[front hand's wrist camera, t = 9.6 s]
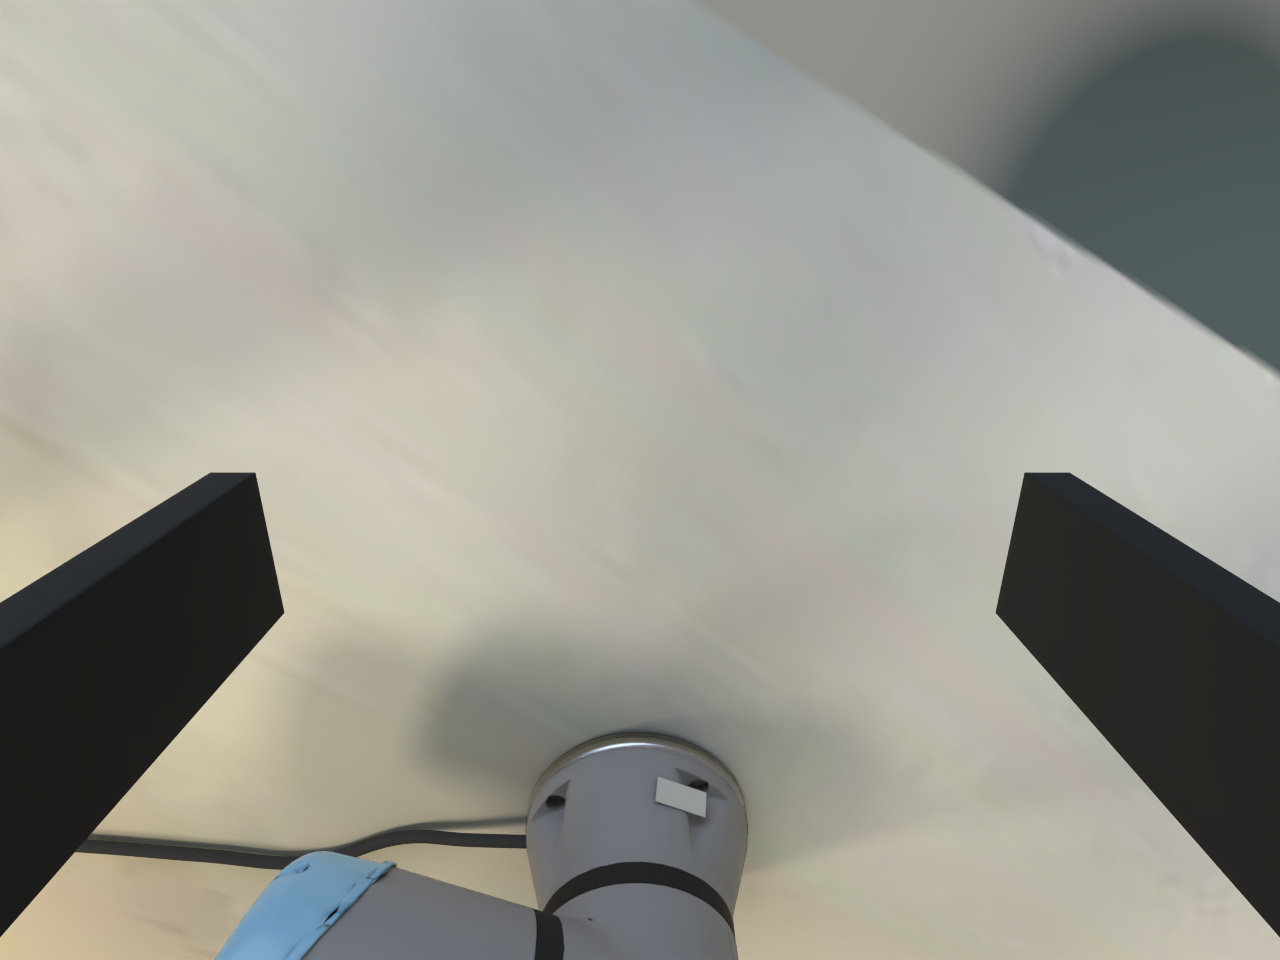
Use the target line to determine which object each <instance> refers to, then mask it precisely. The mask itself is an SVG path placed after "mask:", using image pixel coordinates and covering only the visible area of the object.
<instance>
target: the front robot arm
mask: <svg viewBox="0 0 1280 960" xmlns="http://www.w3.org/2000/svg"><path fill="white" fill-rule="evenodd" d="M283 614H284V609H283V604H282V599H281V594H280V589H279V585H278V580H277V575H276V570H275V565H274V560H273V556H272V551H271V546H270V541H269V536H268V531H267V527H266V522H265V517H264V512H263V507H262V503H261V498H260V493H259V488H258V483H257V478H256V474H255V473H209V474H208V475H206V476H204V477H203V478H201V479H200V480H198V481H196V482H195V483H193V484H191V485H190V486H188V487H187V488H185V489H183V490H182V491H180V492H179V493H177V494H175V495H174V496H172V497H170V498H169V499H167V500H166V501H164V502H162V503H161V504H159V505H158V506H156V507H154V508H153V509H151V510H149V511H148V512H146V513H145V514H143V515H141V516H140V517H138V518H137V519H135V520H133V521H132V522H130V523H128V524H127V525H125V526H124V527H122V528H120V529H119V530H117V531H116V532H114V533H112V534H111V535H109V536H108V537H106V538H104V539H103V540H101V541H99V542H98V543H96V544H95V545H93V546H91V547H90V548H88V549H87V550H85V551H83V552H82V553H80V554H78V555H77V556H75V557H74V558H72V559H70V560H69V561H67V562H66V563H64V564H62V565H61V566H59V567H57V568H56V569H54V570H53V571H51V572H49V573H48V574H46V575H45V576H43V577H41V578H40V579H38V580H36V581H35V582H33V583H32V584H30V585H28V586H27V587H25V588H24V589H22V590H20V591H19V592H17V593H15V594H14V595H12V596H11V597H9V598H7V599H6V600H4V601H3V602H1V603H0V937H1V936H2V935H3V933H4V932H5V931H6V930H7V929H8V928H9V927H10V925H11V924H12V923H13V922H14V921H15V920H16V919H17V917H18V916H19V915H20V914H21V913H22V912H23V911H24V909H25V908H26V907H27V906H28V905H29V904H30V903H31V901H32V900H33V899H34V898H35V897H36V896H37V895H38V893H39V892H40V891H41V890H42V889H43V888H44V887H45V885H46V884H47V883H48V882H49V881H50V880H51V879H52V877H53V876H54V875H55V874H56V873H57V872H58V871H59V869H60V868H61V867H62V866H63V865H64V864H65V863H66V861H67V860H68V859H69V858H70V857H71V856H72V855H73V853H74V852H82V853H97V854H110V855H123V856H135V857H147V858H158V859H170V860H182V861H195V862H208V863H219V864H228V865H236V866H245V867H253V868H263V869H279V870H282V871H281V872H280V873H279V874H278V875H277V876H276V877H275V878H274V879H273V880H272V882H271V883H270V884H269V885H268V886H267V887H266V889H265V890H264V891H263V892H262V893H261V895H260V896H259V897H258V899H257V900H256V901H255V902H254V904H253V905H252V907H251V908H250V909H249V911H248V912H247V913H246V915H245V916H244V917H243V919H242V920H241V922H240V923H239V925H238V926H237V927H236V929H235V930H234V932H233V933H232V935H231V936H230V938H229V939H228V940H227V942H226V943H225V945H224V946H223V948H222V949H221V951H220V952H219V954H218V955H217V957H216V958H215V960H738V954H737V946H736V941H735V933H734V924H733V914H734V909H735V904H736V899H737V895H738V890H739V885H740V880H741V875H742V871H743V866H744V861H745V856H746V852H747V839H748V824H747V818H746V812H745V807H744V801H743V797H742V794H741V791H740V789H739V787H738V785H737V783H736V781H735V780H734V778H733V776H732V775H731V774H730V773H729V771H728V770H727V769H726V768H725V767H724V766H723V765H722V764H721V763H720V762H719V761H718V760H717V759H716V758H714V757H713V756H712V755H710V754H709V753H707V752H706V751H704V750H702V749H701V748H699V747H697V746H695V745H693V744H691V743H688V742H686V741H683V740H680V739H677V738H674V737H670V736H666V735H660V734H654V733H620V734H614V735H608V736H604V737H600V738H597V739H593V740H590V741H588V742H585V743H583V744H581V745H579V746H577V747H575V748H573V749H571V750H569V751H568V752H566V753H565V754H563V755H562V756H561V757H559V758H558V759H557V760H556V761H554V762H553V763H552V764H551V765H550V766H549V767H548V769H547V770H546V771H545V772H544V773H543V775H542V776H541V778H540V779H539V781H538V782H537V784H536V787H535V789H534V791H533V794H532V797H531V801H530V806H529V811H528V816H527V822H526V835H507V834H472V833H455V832H445V831H434V830H409V831H401V832H394V833H389V834H385V835H381V836H378V837H375V838H371V839H369V840H366V841H363V842H360V843H358V844H355V845H352V846H349V847H347V848H344V849H340V850H337V851H334V852H329V851H317V852H312V853H309V854H306V855H304V856H293V857H288V856H267V855H258V854H249V853H241V852H233V851H224V850H213V849H201V848H188V847H175V846H164V845H152V844H141V843H129V842H116V841H103V840H89V839H87V838H88V836H89V835H90V834H91V833H92V832H93V831H94V830H95V828H96V827H97V826H98V825H99V824H100V823H101V822H102V820H103V819H104V818H105V817H106V816H107V815H108V814H109V812H110V811H111V810H112V809H113V808H114V807H115V806H116V804H117V803H118V802H119V801H120V800H121V799H122V798H123V796H124V795H125V794H126V793H127V792H128V791H129V790H130V788H131V787H132V786H133V785H134V784H135V783H136V782H137V780H138V779H139V778H140V777H141V776H142V775H143V774H144V772H145V771H146V770H147V769H148V768H149V767H150V766H151V764H152V763H153V762H154V761H155V760H156V759H157V758H158V756H159V755H160V754H161V753H162V752H163V751H164V750H165V748H166V747H167V746H168V745H169V744H170V743H171V742H172V740H173V739H174V738H175V737H176V736H177V735H178V734H179V732H180V731H181V730H182V729H183V728H184V727H185V726H186V724H187V723H188V722H189V721H190V720H191V719H192V718H193V716H194V715H195V714H196V713H197V712H198V711H199V710H200V708H201V707H202V706H203V705H204V704H205V703H206V702H207V700H208V699H209V698H210V697H211V696H212V695H213V694H214V692H215V691H216V690H217V689H218V688H219V687H220V686H221V684H222V683H223V682H224V681H225V680H226V679H227V678H228V676H229V675H230V674H231V673H232V672H233V671H234V670H235V669H236V667H237V666H238V665H239V664H240V663H241V662H242V661H243V659H244V658H245V657H246V656H247V655H248V654H249V653H250V651H251V650H252V649H253V648H254V647H255V646H256V645H257V643H258V642H259V641H260V640H261V639H262V638H263V637H264V635H265V634H266V633H267V632H268V631H269V630H270V629H271V627H272V626H273V625H274V624H275V623H276V622H277V621H278V619H279V618H280V617H281V616H282V615H283ZM996 614H997V615H998V616H999V617H1000V618H1001V619H1002V621H1003V622H1004V623H1005V624H1006V625H1007V626H1008V627H1009V629H1010V630H1011V631H1012V632H1013V633H1014V634H1015V635H1016V637H1017V638H1018V639H1019V640H1020V641H1021V642H1022V643H1023V645H1024V646H1025V647H1026V648H1027V649H1028V650H1029V651H1030V653H1031V654H1032V655H1033V656H1034V657H1035V658H1036V659H1037V661H1038V662H1039V663H1040V664H1041V665H1042V666H1043V667H1044V669H1045V670H1046V671H1047V672H1048V673H1049V674H1050V675H1051V677H1052V678H1053V679H1054V680H1055V681H1056V682H1057V683H1058V684H1059V686H1060V687H1061V688H1062V689H1063V690H1064V691H1065V692H1066V694H1067V695H1068V696H1069V697H1070V698H1071V699H1072V700H1073V702H1074V703H1075V704H1076V705H1077V706H1078V707H1079V708H1080V710H1081V711H1082V712H1083V713H1084V714H1085V715H1086V716H1087V718H1088V719H1089V720H1090V721H1091V722H1092V723H1093V724H1094V726H1095V727H1096V728H1097V729H1098V730H1099V731H1100V732H1101V734H1102V735H1103V736H1104V737H1105V738H1106V739H1107V740H1108V742H1109V743H1110V744H1111V745H1112V746H1113V747H1114V748H1115V750H1116V751H1117V752H1118V753H1119V754H1120V755H1121V756H1122V758H1123V759H1124V760H1125V761H1126V762H1127V763H1128V764H1129V766H1130V767H1131V768H1132V769H1133V770H1134V771H1135V772H1136V774H1137V775H1138V776H1139V777H1140V778H1141V779H1142V780H1143V782H1144V783H1145V784H1146V785H1147V786H1148V787H1149V788H1150V790H1151V791H1152V792H1153V793H1154V794H1155V795H1156V796H1157V798H1158V799H1159V800H1160V801H1161V802H1162V803H1163V804H1164V806H1165V807H1166V808H1167V809H1168V810H1169V811H1170V812H1171V814H1172V815H1173V816H1174V817H1175V818H1176V819H1177V820H1178V822H1179V823H1180V824H1181V825H1182V826H1183V827H1184V828H1185V830H1186V831H1187V832H1188V833H1189V834H1190V835H1191V836H1192V838H1193V839H1194V840H1195V841H1196V842H1197V843H1198V844H1199V845H1200V847H1201V848H1202V849H1203V850H1204V851H1205V852H1206V853H1207V855H1208V856H1209V857H1210V858H1211V859H1212V860H1213V861H1214V863H1215V864H1216V865H1217V866H1218V867H1219V868H1220V869H1221V871H1222V872H1223V873H1224V874H1225V875H1226V876H1227V877H1228V879H1229V880H1230V881H1231V882H1232V883H1233V884H1234V885H1235V887H1236V888H1237V889H1238V890H1239V891H1240V892H1241V893H1242V895H1243V896H1244V897H1245V898H1246V899H1247V900H1248V901H1249V903H1250V904H1251V905H1252V906H1253V907H1254V908H1255V909H1256V911H1257V912H1258V913H1259V914H1260V915H1261V916H1262V917H1263V919H1264V920H1265V921H1266V922H1267V923H1268V924H1269V925H1270V927H1271V928H1272V929H1273V930H1274V931H1275V932H1276V933H1277V935H1278V936H1279V937H1280V603H1279V602H1277V601H1276V600H1274V599H1273V598H1271V597H1269V596H1268V595H1266V594H1265V593H1263V592H1261V591H1260V590H1258V589H1256V588H1255V587H1253V586H1252V585H1250V584H1248V583H1247V582H1245V581H1244V580H1242V579H1240V578H1239V577H1237V576H1235V575H1234V574H1232V573H1231V572H1229V571H1227V570H1226V569H1224V568H1223V567H1221V566H1219V565H1218V564H1216V563H1214V562H1213V561H1211V560H1210V559H1208V558H1206V557H1205V556H1203V555H1202V554H1200V553H1198V552H1197V551H1195V550H1193V549H1192V548H1190V547H1189V546H1187V545H1185V544H1184V543H1182V542H1181V541H1179V540H1177V539H1176V538H1174V537H1172V536H1171V535H1169V534H1168V533H1166V532H1164V531H1163V530H1161V529H1160V528H1158V527H1156V526H1155V525H1153V524H1152V523H1150V522H1148V521H1147V520H1145V519H1143V518H1142V517H1140V516H1139V515H1137V514H1135V513H1134V512H1132V511H1131V510H1129V509H1127V508H1126V507H1124V506H1122V505H1121V504H1119V503H1118V502H1116V501H1114V500H1113V499H1111V498H1110V497H1108V496H1106V495H1105V494H1103V493H1101V492H1100V491H1098V490H1097V489H1095V488H1093V487H1092V486H1090V485H1089V484H1087V483H1085V482H1084V481H1082V480H1080V479H1079V478H1077V477H1076V476H1074V475H1072V474H1071V473H1025V474H1024V478H1023V483H1022V488H1021V493H1020V498H1019V503H1018V507H1017V512H1016V517H1015V522H1014V527H1013V531H1012V536H1011V541H1010V546H1009V551H1008V556H1007V560H1006V565H1005V570H1004V575H1003V580H1002V585H1001V589H1000V594H999V599H998V604H997V609H996ZM410 843H429V844H440V845H450V846H463V847H490V848H526V849H527V853H528V858H529V863H530V868H531V873H532V878H533V883H534V888H535V893H536V898H537V903H538V908H539V910H536V909H533V908H529V907H526V906H523V905H519V904H516V903H513V902H509V901H506V900H503V899H499V898H496V897H493V896H489V895H486V894H483V893H479V892H476V891H473V890H469V889H466V888H462V887H459V886H456V885H452V884H449V883H446V882H442V881H439V880H436V879H432V878H429V877H426V876H422V875H419V874H416V873H412V872H409V871H406V870H402V869H399V868H396V866H397V864H396V863H394V862H392V861H385V862H383V863H377V862H373V861H369V860H364V859H360V858H356V857H358V856H361V855H364V854H366V853H369V852H372V851H375V850H378V849H382V848H385V847H390V846H395V845H401V844H410Z"/></svg>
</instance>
